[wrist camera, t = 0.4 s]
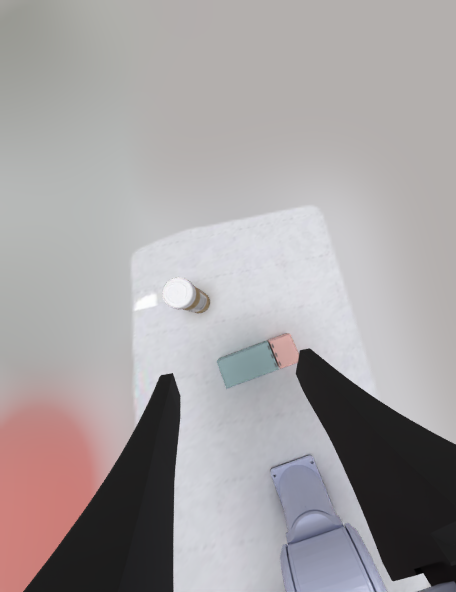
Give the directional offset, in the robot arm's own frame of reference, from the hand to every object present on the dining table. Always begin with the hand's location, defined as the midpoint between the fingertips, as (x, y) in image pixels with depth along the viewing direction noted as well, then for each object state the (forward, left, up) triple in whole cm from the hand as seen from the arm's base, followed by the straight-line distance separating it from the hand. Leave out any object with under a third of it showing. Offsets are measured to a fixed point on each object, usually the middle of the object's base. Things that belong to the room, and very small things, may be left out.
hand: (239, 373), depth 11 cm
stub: (-5, -6, -28) cm, 29 cm away
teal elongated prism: (-5, +1, -28) cm, 28 cm away
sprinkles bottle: (+10, +6, -28) cm, 30 cm away
